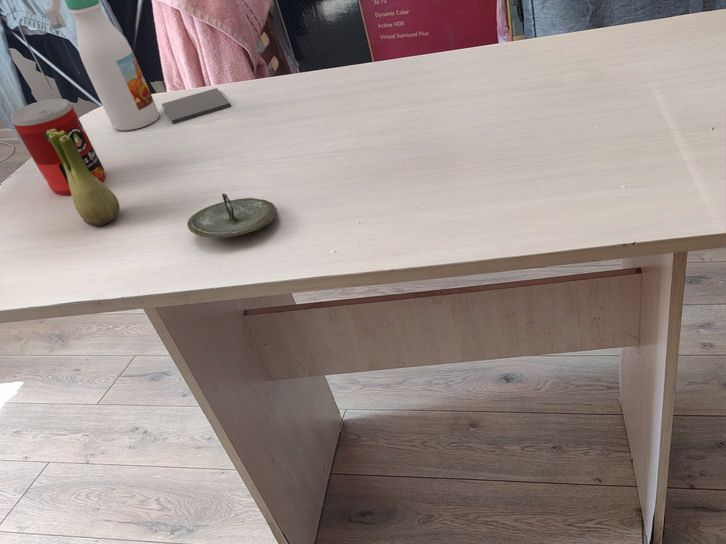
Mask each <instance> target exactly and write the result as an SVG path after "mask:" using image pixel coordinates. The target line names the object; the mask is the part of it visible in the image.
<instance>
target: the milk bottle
mask: <svg viewBox="0 0 726 544" xmlns="http://www.w3.org/2000/svg"><path fill="white" fill-rule="evenodd" d="M64 2H65V4H66V6H67V8H68V10H69V13H70V14H72V15H73V18H74V22H75V26H76V33H77V34H76V35H77V37H76V38H77V49H78V53H79V57H80V59H81V62H82V64H83V67H84V69H85V71H86V73H87V75H88V77H89V80H90V82H91V83H92V85H93V88H94V90H95V92H96V94H97V97H98V99H99V101H100V103H101V105H102V107H103V109H104V111H105V114H106V115H107V117H108V119H109V121H110V123H111V125H112V127H113V128H114V129H115V130H118V131H132V130H137V129H140V128H144V127H146V126H148V125H151V124H153V123H155V122H156V121H157V120H158V118H159V117H160V112H159V110H158V107H157V105H156V103H155V100H154V98H153V96H152V94H151V91H150V89H149V86H148V84H147V81H146V79H145V77H144V75H143V72H142V70H141V68H140V66H139V63H138V61H137V58H136V57H135V54H134V52H133V50H132V48H131V46H130V44H129V43H128V41H127V39H126V38H125V36H124V35H123V34H122V33H121V31H119V30H118V29H117V28H116V26H115V25H114V24H113V23H112V22H111V21H110V20H109V19H108V17H107V16H106V15H105V13H104V11H103V10H102V3H101V2H100V0H64Z"/></svg>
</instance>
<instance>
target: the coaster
mask: <svg viewBox="0 0 726 544" xmlns="http://www.w3.org/2000/svg"><path fill="white" fill-rule="evenodd" d="M161 107H162V108H163V110H164V112H165V113H166V115H167V117H168V119H169V120H170V122H171V123H172V124H173V125H174V124H177V123H178V124H179V123H181V122H184V121H188V120H190V119H194V118H197V117H201V116H204V115H209V114H210V113H214V112H217V111H220V110H223V109H227V108H231V107H232V103H231V102H230V101H229V100H228V99H227V97H225V95H224V94H223V93H222V92H221V91H220V90H219V89H218V87H214V88H212V89H211V88H210V89H208V90H205V91H201V92H197V93H194V94H191V95H187V96H184V97H180V98H177V99H173V100H170V101H165V102H163V103H161Z"/></svg>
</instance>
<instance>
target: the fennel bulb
mask: <svg viewBox="0 0 726 544" xmlns="http://www.w3.org/2000/svg"><path fill="white" fill-rule="evenodd" d="M46 134H47V136H48V138H49V139H50V141H51V143H52V145H53V147H54V148H55V150H56V152H57V154H58V156H59V158H60V160H61V162H62V164H63V167H64V169H65V171H66V175H67V179H68V183H69V187H70V191H71V194H72V195H71V198H72V199H73V200H72V201H73V203H74V206H75V209H76V211H77V213H78V214H79V216H80V218H81V219H82V220H83V222H84V223H85V224H87V225H89V226H93V227H98V226H103V225H106V224H109V223H111V222H112V221H113V220H114V219H115V218H116V217H117V216H118V214H119V213H120V208H121V206H120V202H119V200H118V198H117V196H116V195H115V193H114V192H113V191H112V190H111V189H110V188H109V187H108V186H107V185H106V184H104V182H101V181H99V180H98V179H97V178H96V177H94V176H93V175H92V174H91V173H90V171H89V170H88V168H87V166H86V165H85V163H84V161H83V159H82V158H81V156H80V154H79V152H78V150H77V148H76V146H75V145H74V143H73V141H72V139H71V138H70V137H69V136H67V134H66V132H65V131H60V132H57V130H56V129H51V130H48V131H47V133H46Z"/></svg>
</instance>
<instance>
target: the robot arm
mask: <svg viewBox="0 0 726 544" xmlns="http://www.w3.org/2000/svg"><path fill="white" fill-rule="evenodd" d="M61 3H62V1H61V0H51V6H50V7H51V8H48V9H44V10H43V12H44V14H45V16H46V18H47V20H48V21H49V24H50V27H51V28H52V30H59V29H62V28H66V27H67V23H66V22H65V18H64V17H63V15H62V13H61V11H60V10H61Z"/></svg>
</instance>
